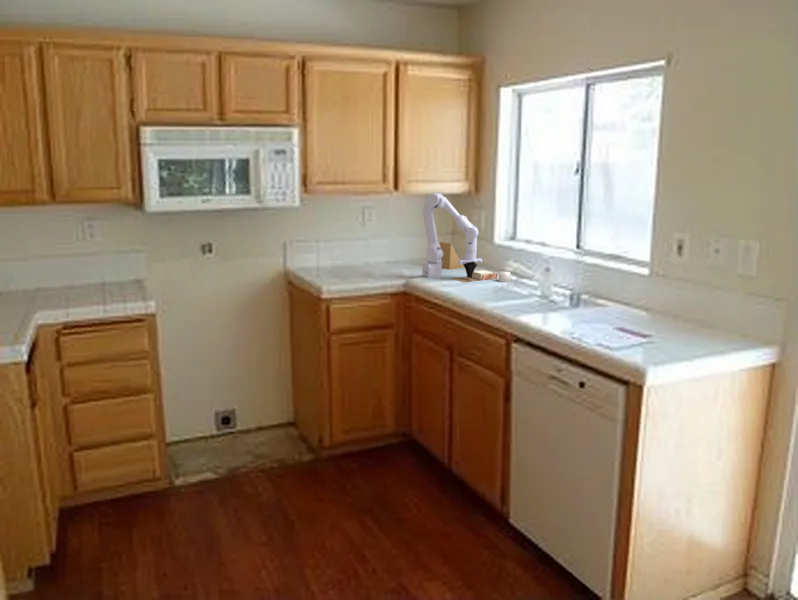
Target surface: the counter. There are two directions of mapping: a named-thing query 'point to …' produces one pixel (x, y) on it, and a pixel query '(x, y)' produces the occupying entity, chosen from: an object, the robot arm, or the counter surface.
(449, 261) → the sandwich container
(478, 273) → the carton
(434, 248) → the robot arm
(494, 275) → the open-sided wooden box
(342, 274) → the counter surface
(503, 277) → the grey rounded piece
